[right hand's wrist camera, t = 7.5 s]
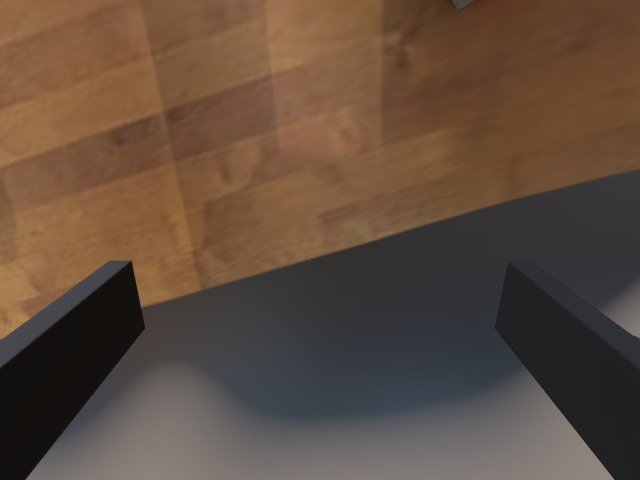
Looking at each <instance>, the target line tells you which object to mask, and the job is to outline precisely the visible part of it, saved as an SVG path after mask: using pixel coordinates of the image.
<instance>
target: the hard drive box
mask: <svg viewBox="0 0 640 480" xmlns="http://www.w3.org/2000/svg"><path fill="white" fill-rule="evenodd" d="M473 1H474V0H452V2H453V3H454V5H455V7H456V8H457V10H460V9H462V8H464V7H465V6H467V5H468V4H470V3H471V2H473Z"/></svg>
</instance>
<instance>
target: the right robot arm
mask: <svg viewBox="0 0 640 480" xmlns="http://www.w3.org/2000/svg"><path fill="white" fill-rule="evenodd" d="M144 329H145V325H144V320H143V315H142V310H141V305H140V300H139V295H138V290H137V285H136V280H135V276H134V271H133V266H132V261H109V262H107V263H106V264H104V265H103V266H102V267H100V268H99V269H98V270H96V271H95V272H94V273H92V274H91V275H89V276H88V277H87V278H85V279H84V280H83V281H81V282H80V283H78V284H77V285H76V286H74V287H73V288H72V289H70V290H69V291H68V292H66V293H65V294H63V295H62V296H61V297H59V298H58V299H57V300H55V301H54V302H53V303H51V304H50V305H48V306H47V307H46V308H44V309H43V310H42V311H40V312H39V313H37V314H36V315H35V316H33V317H32V318H31V319H29V320H28V321H27V322H25V323H24V324H22V325H21V326H20V327H18V328H17V329H16V330H14V331H13V332H12V333H10V334H9V335H7V336H6V337H5V338H3V339H1V340H0V480H25V479H26V478H27V477H28V476H29V474H30V473H31V472H32V471H33V469H34V468H35V467H36V466H37V464H38V463H39V462H40V460H41V459H42V458H43V457H44V455H45V454H46V453H47V452H48V450H49V449H50V448H51V447H52V445H53V444H54V443H55V442H56V440H57V439H58V438H59V436H60V435H61V434H62V433H63V431H64V430H65V429H66V428H67V426H68V425H69V424H70V423H71V421H72V420H73V419H74V417H75V416H76V415H77V414H78V412H79V411H80V410H81V409H82V407H83V406H84V405H85V404H86V402H87V401H88V400H89V398H90V397H91V396H92V395H93V393H94V392H95V391H96V390H97V388H98V387H99V386H100V385H101V383H102V382H103V381H104V380H105V378H106V377H107V376H108V374H109V373H110V372H111V371H112V369H113V368H114V367H115V366H116V364H117V363H118V362H119V361H120V359H121V358H122V357H123V355H124V354H125V353H126V352H127V350H128V349H129V348H130V347H131V345H132V344H133V343H134V342H135V340H136V339H137V338H138V336H139V335H140V334H141V333H142V331H143V330H144ZM495 329H496V330H497V331H498V333H499V334H500V335H501V336H502V338H503V339H504V340H505V342H506V343H507V344H508V345H509V347H510V348H511V349H512V350H513V352H514V353H515V354H516V355H517V357H518V358H519V359H520V361H521V362H522V363H523V364H524V366H525V367H526V368H527V369H528V371H529V372H530V373H531V374H532V376H533V377H534V378H535V379H536V381H537V382H538V383H539V385H540V386H541V387H542V388H543V390H544V391H545V392H546V393H547V395H548V396H549V397H550V398H551V400H552V401H553V402H554V404H555V405H556V406H557V407H558V409H559V410H560V411H561V412H562V414H563V415H564V416H565V417H566V419H567V420H568V421H569V423H570V424H571V425H572V426H573V428H574V429H575V430H576V431H577V433H578V434H579V435H580V436H581V438H582V439H583V440H584V442H585V443H586V444H587V445H588V447H589V448H590V449H591V450H592V452H593V453H594V454H595V455H596V457H597V458H598V459H599V460H600V462H601V463H602V464H603V466H604V467H605V468H606V469H607V471H608V472H609V473H610V474H611V476H612V477H613V478H614V479H615V480H640V338H638V337H636V336H633V335H631V334H630V333H628V332H627V331H626V330H624V329H623V328H622V327H620V326H619V325H618V324H616V323H615V322H613V321H612V320H611V319H609V318H608V317H607V316H605V315H604V314H602V313H601V312H600V311H598V310H597V309H596V308H594V307H593V306H592V305H590V304H589V303H587V302H586V301H585V300H583V299H582V298H581V297H579V296H578V295H576V294H575V293H574V292H572V291H571V290H570V289H568V288H567V287H566V286H564V285H563V284H562V283H560V282H559V281H557V280H556V279H555V278H553V277H552V276H550V275H549V274H548V273H546V272H545V271H544V270H542V269H541V268H540V267H538V266H537V265H536V264H534V263H533V262H531V261H508V266H507V271H506V276H505V280H504V285H503V290H502V295H501V300H500V305H499V310H498V315H497V320H496V325H495Z"/></svg>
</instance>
